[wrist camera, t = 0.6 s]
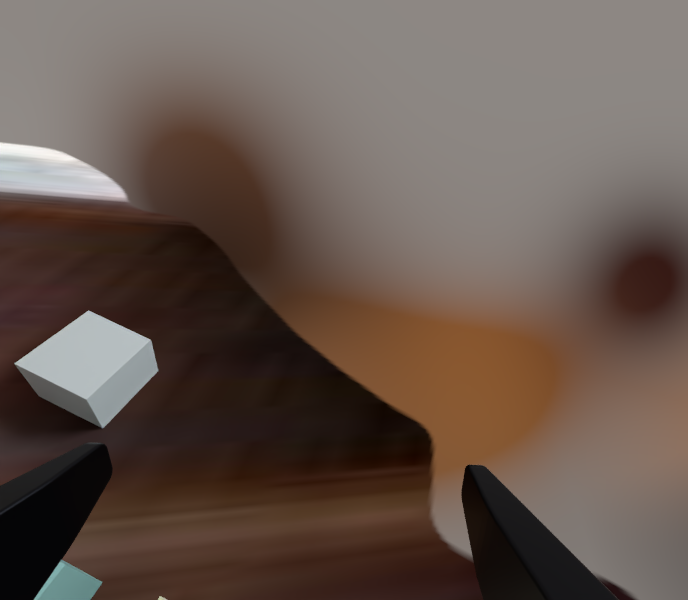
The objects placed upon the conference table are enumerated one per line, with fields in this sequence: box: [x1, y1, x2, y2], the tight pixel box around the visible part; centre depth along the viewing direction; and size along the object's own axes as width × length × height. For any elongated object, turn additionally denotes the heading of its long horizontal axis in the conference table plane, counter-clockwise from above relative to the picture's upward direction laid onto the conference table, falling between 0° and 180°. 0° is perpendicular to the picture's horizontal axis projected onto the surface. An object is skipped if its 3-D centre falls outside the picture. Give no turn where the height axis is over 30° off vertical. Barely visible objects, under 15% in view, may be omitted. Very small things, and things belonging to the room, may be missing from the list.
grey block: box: [14, 311, 158, 428], centre depth 23 cm, size 5×5×4 cm
